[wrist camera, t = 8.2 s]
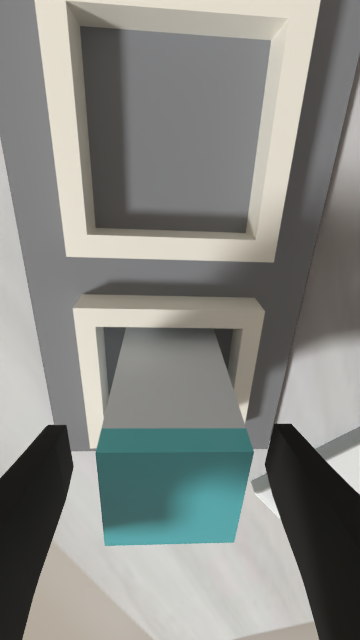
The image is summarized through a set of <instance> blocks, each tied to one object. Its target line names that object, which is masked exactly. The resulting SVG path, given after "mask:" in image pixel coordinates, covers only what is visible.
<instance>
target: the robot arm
mask: <svg viewBox="0 0 360 640" xmlns="http://www.w3.org/2000/svg"><path fill="white" fill-rule="evenodd" d="M265 467H266V471H267V476H268V480H269V484H270V488H271V492H272V496H273V498H274V501H275V504H276V507H277V510H278V512H279V515H280V518H281V521H282V524H283V526H284V529H285V532H286V535H287V537H288V540H289V543H290V545H291V548H292V551H293V554H294V556H295V559H296V562H297V565H298V567H299V570H300V573H301V576H302V579H303V583H304V586H305V589H306V593H307V596H308V600H309V603H310V607H311V611H312V614H313V618H314V621H315V625H316V629H317V632H318V636H319V640H360V494H359V493H358V492H356V491H355V490H354V489H353V488H352V487H351V486H350V485H349V484H348V483H347V482H346V481H345V480H344V479H343V478H342V477H341V476H340V475H339V474H338V473H337V472H336V471H335V470H334V469H333V468H332V467H331V466H330V465H329V464H328V463H327V462H326V461H325V459H324V458H323V457H322V456H321V455H320V454H319V453H318V452H317V451H316V450H315V449H314V448H313V447H312V446H311V445H310V444H309V442H308V441H307V440H306V439H305V438H304V437H303V436H302V435H301V434H300V433H299V432H298V431H297V430H296V428H295V427H294V426H293V425H292V424H274V427H273V432H272V436H271V440H270V444H269V449H268V453H267V457H266V461H265ZM72 471H73V461H72V455H71V449H70V443H69V437H68V431H67V425H48V426H46V427H45V428H44V430H43V431H42V432H41V433H40V434H39V435H38V437H37V438H36V439H35V440H34V441H33V442H32V444H31V445H30V446H29V447H28V448H27V449H26V450H25V452H24V453H23V454H22V455H21V456H20V457H19V458H18V459H17V461H16V462H15V463H14V464H13V465H12V466H11V467H10V468H9V469H8V470H7V471H6V473H5V474H4V475H3V476H2V477H1V478H0V640H22V638H23V634H24V630H25V626H26V622H27V619H28V614H29V611H30V607H31V603H32V599H33V595H34V593H35V589H36V586H37V583H38V579H39V576H40V573H41V571H42V568H43V565H44V562H45V559H46V556H47V553H48V550H49V547H50V544H51V542H52V539H53V536H54V533H55V530H56V527H57V524H58V521H59V518H60V515H61V512H62V509H63V506H64V503H65V500H66V497H67V493H68V489H69V484H70V480H71V475H72Z"/></svg>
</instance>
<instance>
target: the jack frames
mask: <svg viewBox="0 0 360 640" xmlns="http://www.w3.org/2000/svg"><path fill="white" fill-rule="evenodd" d="M320 1H321V0H35V8H36V16H37V24H38V32H39V41H40V49H41V57H42V65H43V73H44V81H45V89H46V97H47V105H48V113H49V121H50V129H51V137H52V145H53V153H54V161H55V170H56V178H57V186H58V194H59V202H60V210H61V218H62V226H63V234H64V242H65V250H66V257H89V258H126V259H162V260H199V261H235V262H272V263H274V259H275V253H276V247H277V242H278V236H279V231H280V225H281V219H282V214H283V208H284V203H285V197H286V191H287V186H288V180H289V175H290V169H291V163H292V158H293V152H294V147H295V141H296V135H297V130H298V124H299V119H300V113H301V107H302V102H303V96H304V91H305V85H306V79H307V74H308V68H309V63H310V57H311V51H312V46H313V40H314V35H315V29H316V23H317V18H318V12H319V7H320ZM80 26H86V27H99V28H113V29H126V30H140V31H153V32H166V33H180V34H193V35H206V36H220V37H233V38H246V39H260V40H271V45H270V53H269V60H268V68H267V76H266V83H265V91H264V98H263V106H262V114H261V121H260V129H259V136H258V144H257V151H256V159H255V167H254V174H253V182H252V189H251V197H250V205H249V212H248V220H247V227H246V233H232V232H203V231H173V230H143V229H113V228H96V226H95V213H94V200H93V188H92V175H91V162H90V149H89V136H88V124H87V111H86V98H85V85H84V72H83V60H82V47H81V34H80ZM73 315H74V323H75V331H76V339H77V347H78V355H79V363H80V371H81V379H82V387H83V395H84V403H85V411H86V420H87V428H88V436H89V444H90V449H94V448H97V445H98V441H99V437H100V433H101V429H102V425H103V420H104V416H105V412H106V408H107V404H108V400H109V392H108V379H107V367H106V354H105V341H104V328H103V327H151V328H226V329H233V333H232V341H231V349H230V356H229V364H228V374H229V377H230V381H231V384H232V387H233V390H234V393H235V396H236V399H237V402H238V405H239V408H240V411H241V414H242V417H243V420H244V423H245V421H246V415H247V410H248V404H249V399H250V393H251V387H252V382H253V376H254V371H255V365H256V359H257V354H258V348H259V343H260V337H261V331H262V326H263V320H264V315H265V311H264V309H263V308H262V307H261V305H260V304H259V303H258V301H257V300H256V299H255V298H246V297H196V296H146V295H95V294H82V295H81V297H80V298H79V300H78V301H77V302H76V304H75V305H74V307H73Z"/></svg>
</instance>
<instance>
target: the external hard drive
mask: <svg viewBox="0 0 360 640" xmlns="http://www.w3.org/2000/svg"><path fill="white" fill-rule="evenodd" d="M315 450H316V451H317V452H318V453H319V454H320V455H321V456H322V457H323V458H324V459H325V461H326V462H327V463H328V464H329V465H330V466H331V467H332V468H333V469H334V470H335V471H336V472H337V473H338V474H339V475H340V476H341V477H342V478H343V479H344V480H345V481H346V482H347V483H348V484H349V485H350V486H351V487H352V488H353V489H354V490H355V491H356V492H358V493H359V494H360V427H358V428H356V429H354V430H352V431H350V432H348V433H346V434H344V435H342V436H340V437H338V438H336V439H334V440H332V441H330V442H328V443H326V444H324V445H322V446H320V447H318V448H316V449H315ZM251 484H252V487H253V491H254V493H255V494H256V495H257V496H258V497H259V498H260V499H261V500H262V501H263V502H264V503H265V504H266V505H267V506H268V507H269V508H270V509H271V510H272V511H273V512H274V513H275V514H276V515H277V516H278V517H279V518H280V515H279V512H278V510H277V507H276V504H275V501H274V498H273V496H272V492H271V488H270V484H269V480H268V476H267V473H266V474H264V475H262V476H260V477H258V478H256V479H254V480H252V481H251ZM280 519H281V518H280Z"/></svg>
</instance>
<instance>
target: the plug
mask: <svg viewBox="0 0 360 640" xmlns="http://www.w3.org/2000/svg"><path fill="white" fill-rule="evenodd" d="M253 454H254V451H253V448H252V445H251V442H250V439H249V436H248V433H247V429H246V426H245V423H244V420H243V417H242V414H241V411H240V408H239V405H238V402H237V399H236V396H235V393H234V390H233V387H232V384H231V381H230V377H229V374H228V371H227V368H226V365H225V362H224V359H223V356H222V353H221V350H220V347H219V344H218V341H217V338H216V335H215V332H214V329H213V328H151V327H126V330H125V334H124V338H123V342H122V346H121V350H120V355H119V359H118V363H117V367H116V371H115V375H114V379H113V383H112V388H111V392H110V396H109V400H108V404H107V408H106V412H105V416H104V420H103V425H102V429H101V433H100V437H99V441H98V445H97V449H96V462H97V472H98V482H99V492H100V502H101V512H102V522H103V531H104V541H105V546H116V545H153V544H191V543H229V542H234V540H235V535H236V531H237V526H238V522H239V517H240V513H241V508H242V504H243V499H244V494H245V490H246V485H247V481H248V476H249V472H250V467H251V463H252V458H253Z"/></svg>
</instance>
